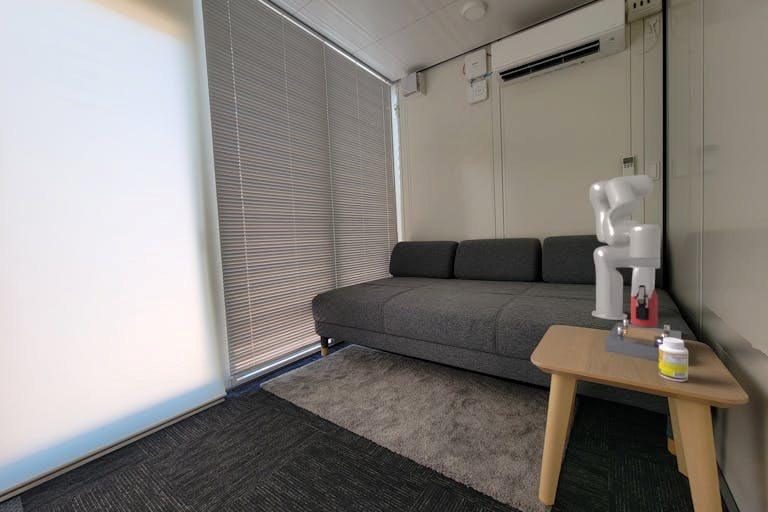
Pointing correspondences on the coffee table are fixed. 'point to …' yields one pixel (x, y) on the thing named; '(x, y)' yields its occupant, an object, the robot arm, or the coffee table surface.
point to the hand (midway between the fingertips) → (643, 316)
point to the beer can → (652, 312)
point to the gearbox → (638, 340)
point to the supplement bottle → (673, 359)
